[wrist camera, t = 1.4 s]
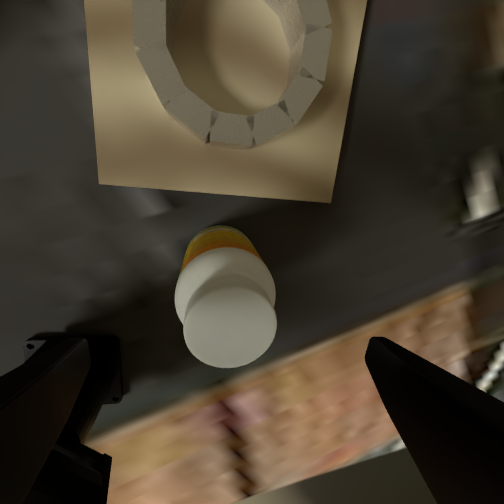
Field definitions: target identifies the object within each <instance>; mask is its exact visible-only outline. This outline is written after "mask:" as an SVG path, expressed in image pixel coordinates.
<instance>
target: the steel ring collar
mask: <svg viewBox="0 0 504 504" xmlns="http://www.w3.org/2000/svg"><path fill="white" fill-rule="evenodd" d="M263 1H264V2H265V3H266V4H267V5H268V6H269V7H270V8H271V9H272V10H273V11H274V12H275V13H276V14H277V15H278V16H279V19H280V22H281V25H282V28H283V31H284V34H285V37H286V40H287V44H288V47H289V50H290V59H289V68H288V76H287V85H286V88H285V90H284V91H283V93H282V94H281V96H280V97H279V99H278V100H277V102H276V103H275V104H274V105H272V106H270V107H268V108H266V109H264V110H262V111H259V112H257V113H255V114H253V115H251V116H246V115H239V114H232V113H225V112H218V111H215V110H214V109H213V108H211V107H210V106H209V105H208V104H206V103H205V102H204V101H203V100H201V99H200V98H199V97H198V96H197V95H195V94H194V93H193V92H192V91H190V90H189V89H188V88H187V87H185V85H184V83H183V81H182V79H181V76H180V74H179V72H178V70H177V68H176V66H175V64H174V61H173V27H174V26H175V24H176V22H177V20H178V18H179V17H180V15H181V13H182V11H183V9H184V7H185V6H186V4H187V2H188V0H132V18H133V45H134V47H135V49H136V51H137V52H135V53H136V55H137V57H138V59H139V61H140V63H141V64H142V66H143V68H144V70H145V72H146V74H147V76H148V78H149V80H150V82H151V84H152V86H153V88H154V90H155V92H156V94H157V96H158V98H159V100H160V102H161V104H162V105H163V107H164V108H165V110H166V112H167V113H168V115H170V117H171V118H172V120H174V121H175V122H176V123H178V124H179V125H180V126H182V127H183V128H184V129H186V130H187V131H188V132H190V133H191V134H192V135H194V136H195V137H196V138H198V139H199V140H200V141H202V142H203V143H204V144H206V143H207V141H208V140H209V138H210V146H214V147H223V148H231V149H240V150H247V149H248V148H249V149H252V148H254V147H256V146H258V145H260V144H262V143H264V142H266V141H268V140H270V139H273V138H275V137H277V136H279V135H281V134H283V133H284V132H286V131H288V130H289V129H291V128H293V127H294V125H296V124H298V122H299V121H300V119H301V118H302V116H303V115H304V113H305V112H306V110H307V109H308V107H309V106H310V104H311V103H312V101H313V100H314V98H315V97H316V95H317V94H318V92H319V91H320V89H321V88H322V85H321V84H322V83H323V82H324V81H325V76H326V69H327V62H328V56H329V49H330V42H331V36H332V29H330V28H328V27H329V26H330V25H331V24H332V20H331V16H330V13H329V9H328V5H327V1H326V0H263Z"/></svg>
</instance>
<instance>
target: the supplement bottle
mask: <svg viewBox="0 0 504 504" xmlns="http://www.w3.org/2000/svg"><path fill="white" fill-rule="evenodd" d="M275 296H276V292H275V284H274V281H273V278H272V276H271V274H270V272H269V270H268V268H267V266H266V265H265V263H264V262H263V260H262V259H261V257H260V256H259V254H258V253H257V251H256V249H255V248H254V246H253V245H252V243H251V242H250V240H249V239H248V238H247V237H246V236H245V235H244V234H243V233H242V232H240V231H239V230H237V229H235V228H232V227H229V226H212V227H209V228H206V229H204V230H202V231H201V232H199V233H198V234H197V235H196V236H195V237H194V238H193V239H192V240H191V242H190V243H189V245H188V248H187V250H186V254H185V257H184V261H183V265H182V268H181V272H180V275H179V278H178V281H177V285H176V290H175V307H176V312H177V314H178V317H179V319H180V321H181V322H182V324H183V325H184V326H183V333H184V339H185V342H186V345H187V347H188V348H189V350H190V351H191V353H192V354H193V355H194V356H195V357H196V358H197V359H199V360H200V361H202V362H204V363H206V364H208V365H211V366H214V367H220V368H233V367H239V366H242V365H246V364H248V363H250V362H252V361H254V360H255V359H257V358H258V357H260V356H261V355H262V354H263V353H264V352H265V351H266V350H267V349H268V348H269V346H270V345H271V343H272V341H273V339H274V337H275V334H276V329H277V317H276V313H275V310H274V304H275Z"/></svg>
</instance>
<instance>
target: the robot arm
mask: <svg viewBox="0 0 504 504" xmlns="http://www.w3.org/2000/svg"><path fill="white" fill-rule="evenodd" d="M109 341H112V342H114V343H110V342H109ZM31 344H33V345H34V346H33V345H31ZM23 350H24V355H25V360H26V361H25V362H24V363H23V364H22V365H21V366H19V367H17V368H15V369H14V370H12V371H10V372H8V373H6V374H4V375H3V376H1V377H0V504H107V495H108V487H109V479H110V471H111V462H112V457H111V456H109V455H107V454H101V453H99V452H97V451H95V450H93V449H91V448H89V447H87V446H85V445H84V444H85V441H86V439H87V437H88V435H89V433H90V431H91V429H92V426H93V424H94V422H95V420H96V418H97V416H98V413H99V411H100V409H101V407H102V405H103V404H116V403H119V402H120V401H121V400H122V397H123V384H122V370H121V356H120V341H119V338H118V337H116V336H113V335H110V336H51V337H32V338H29V339H28V340H26V341H25V342H24V344H23ZM365 362H366V365H367V367H368V370H369V372H370V374H371V376H372V379H373V381H374V383H375V386H376V388H377V390H378V393H379V395H380V397H381V399H382V402H383V404H384V406H385V408H386V410H387V412H388V414H389V416H390V418H391V420H392V422H393V423H394V425H395V427H396V429H397V431H398V433H399V434H400V436H401V438H402V440H403V442H404V444H405V446H406V447H407V449H408V451H409V453H410V455H411V457H412V458H413V460H414V462H415V464H416V466H417V468H418V469H419V471H420V473H421V475H422V477H423V479H424V481H425V482H426V484H427V486H428V488H429V490H430V492H431V493H432V495H433V497H434V499H435V501H436V503H437V504H504V402H502V401H500V400H498V399H497V398H495V397H493V396H491V395H489V394H488V393H486V392H484V391H482V390H480V389H478V388H477V387H475V386H473V385H471V384H469V383H467V382H466V381H464V380H462V379H460V378H458V377H456V376H455V375H453V374H451V373H449V372H447V371H445V370H444V369H442V368H440V367H438V366H436V365H435V364H433V363H431V362H429V361H427V360H425V359H424V358H422V357H420V356H418V355H416V354H414V353H413V352H411V351H409V350H407V349H405V348H403V347H402V346H400V345H398V344H396V343H394V342H393V341H391V340H389V339H387V338H385V337H372V338H371V339H370V340H369V344H368V347H367V350H366V354H365Z"/></svg>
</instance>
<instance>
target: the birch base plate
mask: <svg viewBox="0 0 504 504" xmlns="http://www.w3.org/2000/svg"><path fill="white" fill-rule="evenodd" d="M326 1H327V5H328V9H329V13H330V16H331V20H332V24H331V25H330V26H329V27H328V28H330V29H332V36H331V42H330V49H329V56H328V62H327V69H326V76H325V81H324V82H323V83H322V84H321V85H322V88H321V89H320V91H319V92H318V94H317V95H316V97H315V98H314V100H313V101H312V103H311V104H310V106H309V107H308V109H307V110H306V112H305V113H304V115H303V116H302V118H301V119H300V121H299V122H298V124H296V125H294V127H293V128H291V129H289V130H288V131H286V132H284V133H283V134H281V135H279V136H277V137H275V138H273V139H270V140H268V141H266V142H264V143H262V144H260V145H258V146H256V147H254V148H252V149H249V148H248V149H247V150H240V149H231V148H223V147H214V146H210V138H209V140H208V141H207V143H206V144H204V143H203V142H202V141H200V140H199V139H198V138H196V137H195V136H194V135H192V134H191V133H190V132H188V131H187V130H186V129H184V128H183V127H182V126H180V125H179V124H178V123H176V122H175V121H174V120H172V118H171V117H170V115H168V113H167V112H166V110H165V108H164V107H163V105H162V104H161V102H160V100H159V98H158V96H157V94H156V92H155V90H154V88H153V86H152V84H151V82H150V80H149V78H148V76H147V74H146V72H145V70H144V68H143V66H142V64H141V63H140V61H139V59H138V57H137V55H136V53H135V52H137V51H136V49H135V47H134V45H133V18H132V0H84V5H85V17H86V29H87V42H88V54H89V66H90V78H91V91H92V103H93V115H94V128H95V140H96V152H97V164H98V177H99V184H106V185H118V186H130V187H142V188H154V189H166V190H178V191H191V192H203V193H215V194H227V195H239V196H251V197H263V198H275V199H287V200H299V201H311V202H323V203H331V199H332V194H333V188H334V183H335V177H336V171H337V166H338V160H339V155H340V149H341V144H342V138H343V132H344V127H345V121H346V116H347V110H348V104H349V99H350V93H351V88H352V82H353V76H354V71H355V65H356V60H357V54H358V48H359V43H360V37H361V32H362V26H363V20H364V15H365V9H366V4H367V0H326ZM289 59H290V50H289V47H288V44H287V40H286V37H285V34H284V31H283V28H282V25H281V22H280V19H279V16H278V15H277V14H276V13H275V12H274V11H273V10H272V9H271V8H270V7H269V6H268V5H267V4H266V3H265V2H264V1H263V0H188V2H187V4H186V6H185V7H184V9H183V11H182V13H181V15H180V17H179V18H178V20H177V22H176V24H175V26H174V27H173V61H174V64H175V66H176V68H177V70H178V72H179V74H180V76H181V79H182V81H183V83H184V85H185V87H187V88H188V89H189V90H190V91H192V92H193V93H194V94H195V95H197V96H198V97H199V98H200V99H201V100H203V101H204V102H205V103H206V104H208V105H209V106H210V107H211V108H213V109H214V110H215V111H218V112H225V113H232V114H239V115H246V116H251V115H253V114H255V113H257V112H259V111H262V110H264V109H266V108H268V107H270V106H272V105H274V104H275V103H276V102H277V100H278V99H279V97H280V96H281V94H282V93H283V91H284V90H285V88H286V85H287V76H288V68H289Z"/></svg>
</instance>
